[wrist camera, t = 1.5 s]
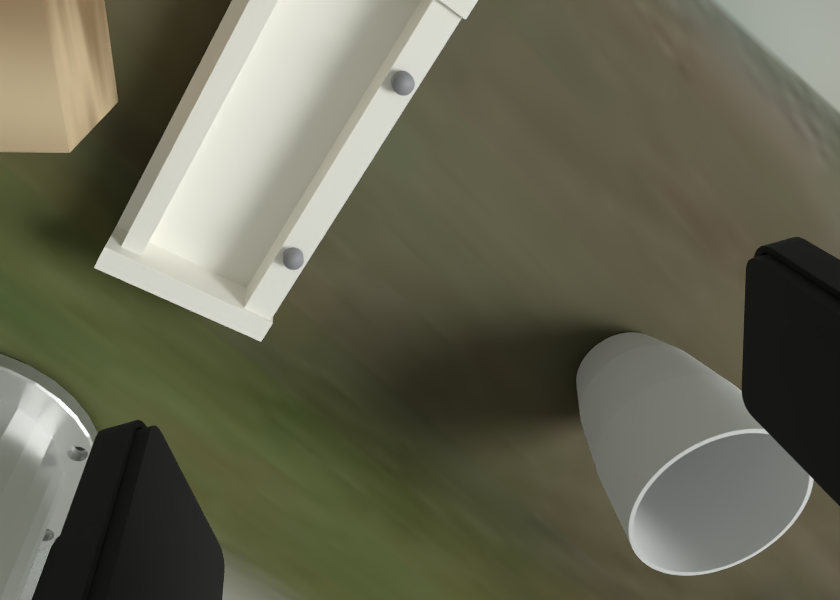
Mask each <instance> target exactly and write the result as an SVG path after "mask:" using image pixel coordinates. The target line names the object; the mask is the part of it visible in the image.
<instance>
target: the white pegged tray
mask: <svg viewBox="0 0 840 600" xmlns="http://www.w3.org/2000/svg"><path fill="white" fill-rule="evenodd" d="M477 1H478V0H232V1H231V3H230V5H229V7H228V9H227V11H226V13H225V15H224V17H223V19H222V21H221V23H220V25H219V27H218V29H217V31H216V33H215V35H214V37H213V38H212V40H211V42H210V44H209V46H208V48H207V50H206V52H205V54H204V56H203V58H202V60H201V62H200V64H199V66H198V68H197V70H196V72H195V74H194V76H193V77H192V79H191V81H190V83H189V85H188V87H187V89H186V91H185V93H184V95H183V97H182V99H181V101H180V103H179V105H178V107H177V109H176V111H175V113H174V115H173V116H172V118H171V120H170V122H169V124H168V126H167V128H166V130H165V132H164V134H163V136H162V138H161V140H160V142H159V144H158V146H157V148H156V150H155V152H154V154H153V155H152V157H151V159H150V161H149V163H148V165H147V167H146V169H145V171H144V173H143V175H142V177H141V179H140V181H139V183H138V185H137V187H136V189H135V191H134V192H133V194H132V196H131V198H130V200H129V202H128V204H127V206H126V208H125V210H124V212H123V214H122V216H121V218H120V220H119V222H118V224H117V226H116V227H115V229H114V231H113V233H112V235H111V236H110V238H109V240H108V242H107V244H106V245H105V247H104V249H103V251H102V253H101V255H100V257H99V259H98V261H97V263H96V265H95V267H94V268H95V269H98V270H100V271H102V272H105V273H107V274H109V275H111V276H114V277H116V278H118V279H120V280H123V281H125V282H127V283H129V284H132V285H134V286H136V287H138V288H141V289H143V290H145V291H148V292H150V293H152V294H154V295H157V296H159V297H161V298H163V299H166V300H168V301H170V302H172V303H175V304H177V305H179V306H181V307H184V308H186V309H188V310H191V311H193V312H195V313H197V314H200V315H202V316H204V317H206V318H209V319H211V320H213V321H215V322H218V323H220V324H222V325H224V326H227V327H229V328H231V329H233V330H236V331H238V332H240V333H243V334H245V335H247V336H249V337H252V338H254V339H256V340H258V341H262V339H263V338H264V336H265V335H266V333H267V332H268V330H269V328H270V327H271V325H272V324H273V315H274V314H275V312H276V311H277V309H278V308H279V306H280V304H281V303H282V301H283V300H284V298H285V297H286V295H287V293H288V292H289V290H290V289H291V287H292V285H293V284H294V282H295V281H296V279H297V278H298V276H299V274H300V273H301V271H302V270H303V268H304V267H305V265H306V263H307V262H308V260H309V259H310V257H311V255H312V254H313V252H314V251H315V249H316V248H317V246H318V244H319V243H320V241H321V240H322V238H323V236H324V235H325V233H326V232H327V230H328V229H329V227H330V225H331V224H332V222H333V221H334V219H335V218H336V216H337V214H338V213H339V211H340V210H341V208H342V206H343V205H344V203H345V202H346V200H347V199H348V197H349V195H350V194H351V192H352V191H353V189H354V188H355V186H356V184H357V183H358V181H359V180H360V178H361V176H362V175H363V173H364V172H365V170H366V169H367V167H368V165H369V164H370V162H371V161H372V159H373V158H374V156H375V154H376V153H377V151H378V150H379V148H380V146H381V145H382V143H383V142H384V140H385V139H386V137H387V135H388V134H389V132H390V131H391V129H392V127H393V126H394V124H395V123H396V121H397V120H398V118H399V116H400V115H401V113H402V112H403V110H404V109H405V107H406V105H407V104H408V102H409V101H410V99H411V97H412V96H413V94H414V93H415V91H416V90H417V88H418V86H419V85H420V83H421V82H422V80H423V79H424V77H425V75H426V74H427V72H428V71H429V69H430V67H431V66H432V64H433V63H434V61H435V60H436V58H437V56H438V55H439V53H440V52H441V50H442V48H443V47H444V45H445V44H446V42H447V41H448V39H449V37H450V36H451V34H452V33H453V31H454V30H455V28H456V26H457V25H458V23H459V22H460V20H461V18H464V19H466V18H467V17H468V15H469V14H470V12H471V11H472V9H473V7H474V6H475V4H476V3H477Z"/></svg>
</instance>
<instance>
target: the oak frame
mask: <svg viewBox="0 0 840 600" xmlns="http://www.w3.org/2000/svg"><path fill="white" fill-rule="evenodd" d="M117 103H118V96H117V89H116V81H115V74H114V67H113V60H112V52H111V45H110V38H109V31H108V23H107V16H106V9H105V2H104V0H0V152H48V153H70V152H71V151H72V150H73V149H74V148H75V147H76V146H77V145H78V144H79V142H80V141H81V140H82V139H83V138H84V137H85V136H86V135H87V134H88V133H89V132H90V131H91V130H92V129H93V128H94V127H95V126H96V125H97V124H98V122H99V121H100V120H101V119H102V118H103V117H104V116H105V115H106V114H107V113H108V112H109V111H110V110H111V109H112V108H113V107H114V106H115V105H116V104H117Z"/></svg>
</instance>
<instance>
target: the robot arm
mask: <svg viewBox="0 0 840 600" xmlns="http://www.w3.org/2000/svg"><path fill="white" fill-rule="evenodd" d="M742 398H743V402H744V405H745V407H746V409H747V411H748V412H749V414H750V415H751V416H752V417H753V418H754V419H755V420H756V421H757V422H758V423H759V424H760V425H761V426H762V427H763V428H764V429H765V430H766V431H767V432H768V433H769V434H770V435H771V436H772V437H773V438H774V440H775V441H776V442H777V443H778V444H779V445H780V446H781V447H782V448H783V449H784V450H785V451H786V452H787V453H788V454H789V455H790V456H791V457H792V458H793V459H794V460H795V461H796V462H797V463H798V464H799V465H800V466H801V467H802V468H803V469H804V470H805V471H806V472H807V473H808V474H809V475H810V476H811V477H812V478H813V479H814V480H815V481H816V482H817V483H818V484H819V485H820V486H821V487H822V488H823V489H824V491H825V492H826V493H827V494H828V495H829V496H830V497H831V498H832V499H833V500H834V501H835V502H836V503H837V504H838V505H839V506H840V260H839V259H837V258H835V257H834V256H832V255H830V254H829V253H827V252H825V251H823V250H822V249H820V248H818V247H817V246H815V245H813V244H811V243H810V242H808V241H806V240H805V239H802V238H800V237H793V238H789V239H786V240H782V241H778V242H775V243H771V244H768V245H764V246H761V247H760V248H758V249H757V251H756V253H755V255H754V258H752V259H750V260H749V261H748V263H747V266H746V285H745V313H744V341H743V369H742ZM52 544H53V545H52ZM50 545H52V547H51V549H50V552H49V554H48V557H47V560H46V562H45V565H44V568H43V571H42V573H41V576H40V579H39V581H38V584H37V587H36V590H35V592H34V595H33V598H32V600H222V593H223V581H224V558H223V553H222V550H221V547H220V545H219V543H218V541H217V539H216V537H215V535H214V533H213V531H212V529H211V527H210V525H209V523H208V521H207V519H206V517H205V515H204V514H203V512H202V510H201V508H200V506H199V504H198V502H197V500H196V498H195V496H194V494H193V492H192V490H191V488H190V487H189V485H188V483H187V481H186V479H185V477H184V475H183V473H182V471H181V469H180V467H179V465H178V463H177V461H176V459H175V458H174V456H173V454H172V452H171V450H170V448H169V446H168V444H167V442H166V440H165V438H164V436H163V434H162V433H161V431H160V429H159V428H158V427H157V426H150V427H146V425H145V424H144V423H143V422H142V421H140V420H136V421H132V422H129V423H125V424H121V425H118V426H114V427H111V428H107V429H103V430H101V431H99V432H98V433H97V431H96V429H95V427H94V425H93V423H92V421H91V419H90V417H89V415H88V414H87V413H86V412H85V411H84V409H83V408H82V407H81V406H80V404H79V403H78V402H77V401H76V400H75V398H74V397H73V396H72V395H70V394H69V393H68V392H67V391H66V390H65V389H63V388H62V387H61V386H60V385H59V384H58V383H56V382H55V381H54V380H53V379H51V378H49V377H48V376H46V375H44V374H43V373H41V372H39V371H38V370H36V369H34V368H33V367H31V366H29V365H27V364H25V363H22V362H20V361H17V360H15V359H13V358H10V357H8V356H5V355H3V354H0V600H19V598H20V596H21V593H22V591H23V588H24V586H25V583H26V580H27V578H28V575H29V573H30V570H31V568H32V565H33V563H34V560H35V558H36V555H37V553H38V551H41V550H43V549H45V548H47V547H49V546H50Z"/></svg>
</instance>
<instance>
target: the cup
mask: <svg viewBox="0 0 840 600" xmlns="http://www.w3.org/2000/svg"><path fill="white" fill-rule="evenodd" d="M576 385H577V394H578V403H579V411H580V419H581V423H582V427H583V430H584V433H585V436H586V439H587V442H588V445H589V448H590V451H591V455H592V458H593V461H594V464H595V467H596V470H597V473H598V476H599V478H600V480H601V483H602V485H603V487H604V489H605V491H606V493H607V495H608V497H609V500H610V502H611V504H612V506H613V508H614V510H615V512H616V514H617V516H618V519H619V521H620V523H621V525H622V527H623V529H624V531H625V533H626V535H627V538H628V540H629V542H630V544H631V546H632V548H633V550H634V552H635V553H636V555H637V556H638V557H639V558H640V560H642V561H643V562H644V563H645V564H646V565H648V566H650V567H651V568H653V569H655V570H658V571H660V572H664V573H668V574H673V575H700V574H707V573H712V572H716V571H719V570H723V569H726V568H729V567H731V566H734V565H736V564H739V563H741V562H743V561H745V560H747V559H749V558H751V557H753V556H754V555H756V554H758V553H759V552H761V551H762V550H764V549H765V548H767V547H768V546H770V545H771V544H772V543H773V542H775V541H776V540H777V539H778V538H779V537H780V536H782V535H783V534H784V533H785V532H786V531H787V530H788V529H789V527H790V526H791V525H792V524H793V523H794V522H795V520H796V519H797V518H798V516H799V515H800V513H801V512H802V510H803V508H804V507H805V505H806V503H807V501H808V498H809V496H810V493H811V490H812V485H813V478H812V477H811V476H810V475H809V474H808V473H807V472H806V471H805V470H804V469H803V468H802V467H801V466H800V465H799V464H798V463H797V462H796V461H795V460H794V459H793V458H792V457H791V456H790V455H789V454H788V453H787V452H786V451H785V450H784V449H783V448H782V447H781V446H780V445H779V444H778V443H777V442H776V441H775V440H774V438H773V437H772V436H771V435H770V434H769V433H768V432H767V431H766V430H765V429H764V428H763V427H762V426H761V425H760V424H759V423H758V422H757V421H756V420H755V419H754V418H753V417H752V416H751V415H750V414H749V412H748V411H747V409H746V407H745V405H744V402H743V398H742V391H740V390H739V389H738V388H737V387H736V386H735V385H733V384H732V383H730V382H729V381H727V380H726V379H724V378H723V377H721V376H720V375H718V374H717V373H715V372H714V371H713V370H711V369H710V368H708V367H707V366H705V365H704V364H702V363H701V362H699V361H698V360H696V359H695V358H693V357H692V356H690V355H689V354H687V353H686V352H684V351H682V350H680V349H678V348H676V347H674V346H671V345H669V344H667V343H664V342H662V341H660V340H657V339H655V338H653V337H650V336H648V335H646V334H642V333H636V332H627V333H621V334H617V335H614V336H611V337H609V338H607V339H605V340H603V341H602V342H600V343H599V344H597V345H596V346H595V347H594V348H592V349H591V350H590V351H589V352H588V354H587V355H586V356H585V357H584V359H583V361H582V362H581V364H580V366H579V369H578V372H577V377H576Z"/></svg>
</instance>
